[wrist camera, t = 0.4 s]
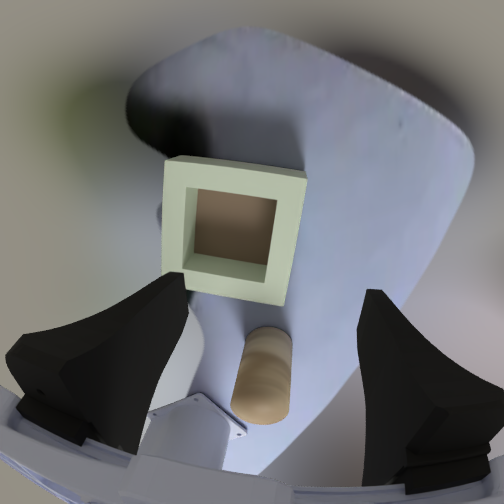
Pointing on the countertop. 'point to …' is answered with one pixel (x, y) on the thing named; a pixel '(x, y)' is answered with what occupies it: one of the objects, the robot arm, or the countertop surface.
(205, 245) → the socket
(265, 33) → the countertop surface
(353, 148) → the countertop surface
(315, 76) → the countertop surface
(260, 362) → the peg
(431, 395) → the robot arm
